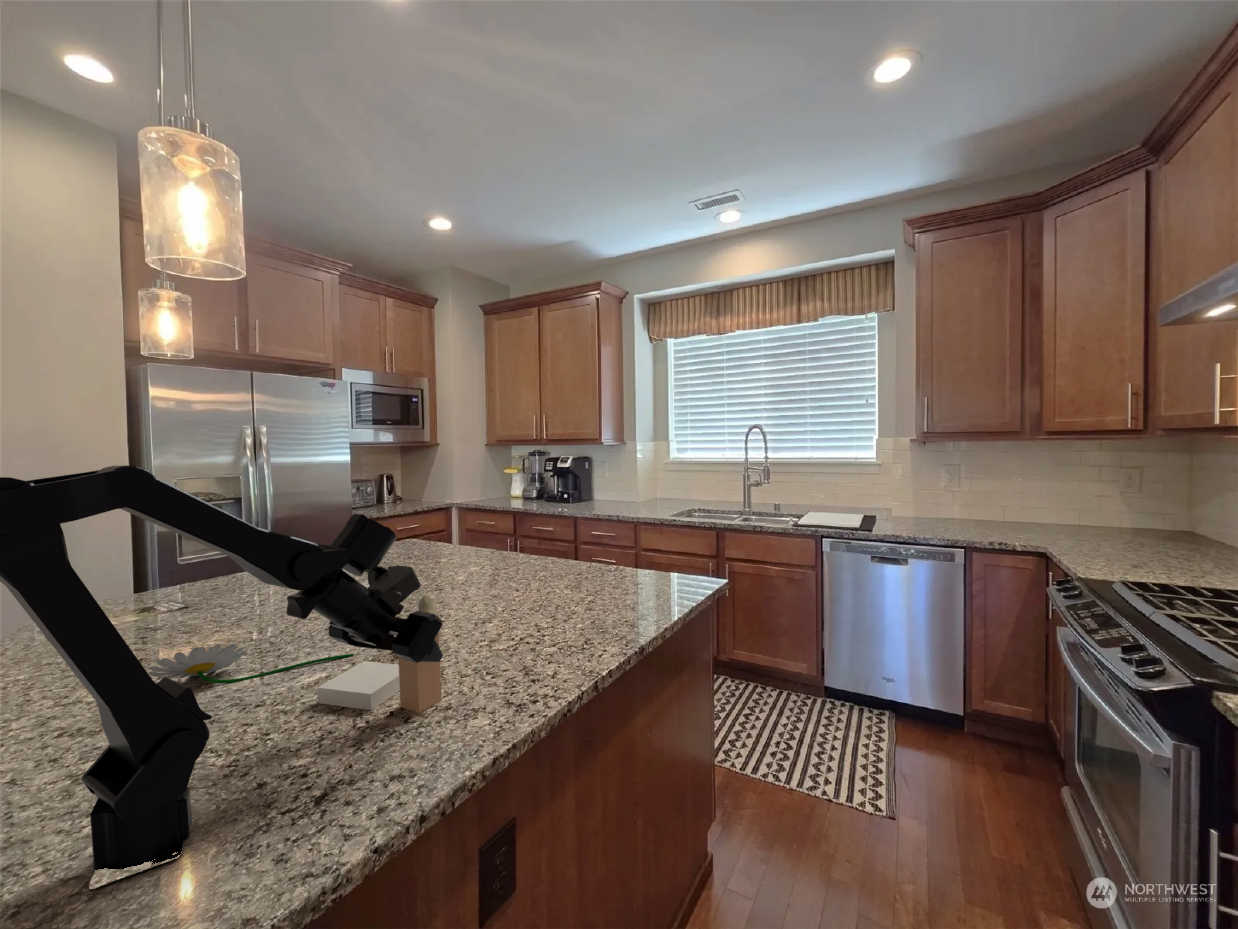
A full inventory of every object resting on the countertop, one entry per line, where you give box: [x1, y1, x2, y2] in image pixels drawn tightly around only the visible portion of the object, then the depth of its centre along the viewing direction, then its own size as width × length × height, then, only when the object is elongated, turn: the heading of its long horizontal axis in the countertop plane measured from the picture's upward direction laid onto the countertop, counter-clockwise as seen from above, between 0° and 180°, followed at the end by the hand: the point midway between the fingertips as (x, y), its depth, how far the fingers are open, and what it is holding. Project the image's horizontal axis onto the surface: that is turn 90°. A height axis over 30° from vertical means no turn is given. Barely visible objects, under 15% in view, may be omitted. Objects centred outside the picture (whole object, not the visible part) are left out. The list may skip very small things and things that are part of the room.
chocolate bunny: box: [418, 594, 440, 618], centre depth 105 cm, size 6×8×10 cm
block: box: [397, 631, 443, 714], centre depth 80 cm, size 4×4×12 cm
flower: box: [148, 643, 354, 684], centre depth 93 cm, size 13×6×30 cm
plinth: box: [316, 660, 400, 711], centre depth 85 cm, size 10×10×2 cm
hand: (419, 653), depth 80 cm, fingers open, 9 cm apart
